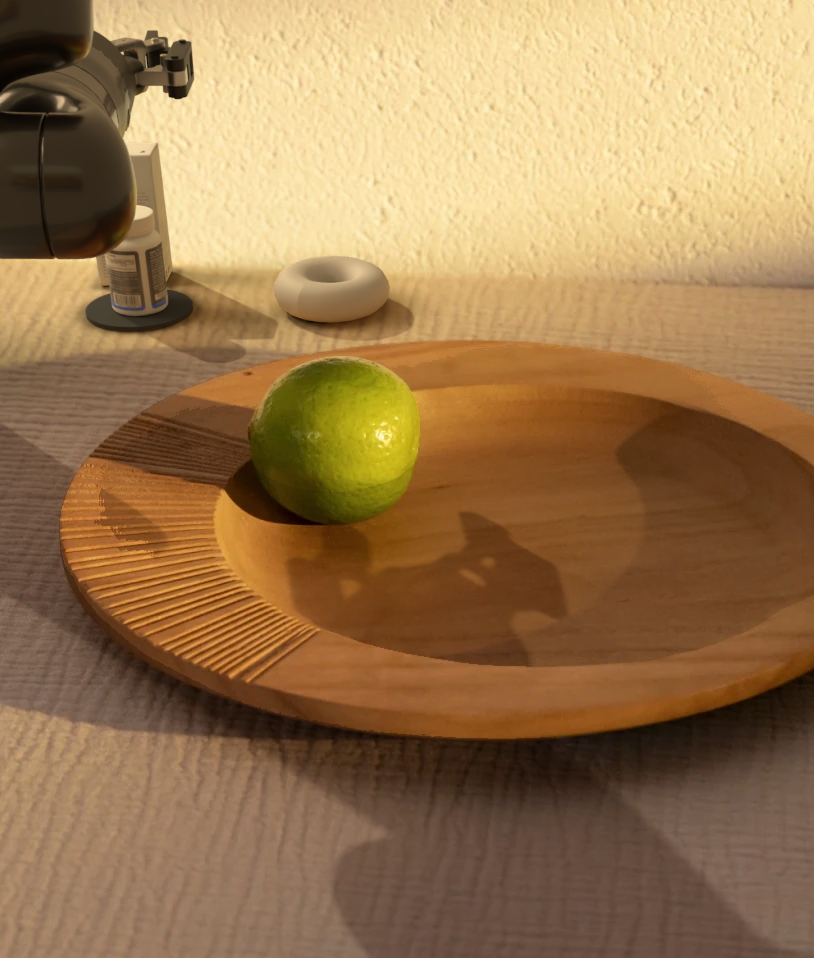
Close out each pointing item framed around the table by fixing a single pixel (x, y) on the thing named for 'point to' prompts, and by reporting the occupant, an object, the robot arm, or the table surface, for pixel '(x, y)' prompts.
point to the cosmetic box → (147, 199)
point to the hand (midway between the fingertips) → (91, 45)
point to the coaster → (108, 318)
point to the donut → (331, 289)
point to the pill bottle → (138, 269)
